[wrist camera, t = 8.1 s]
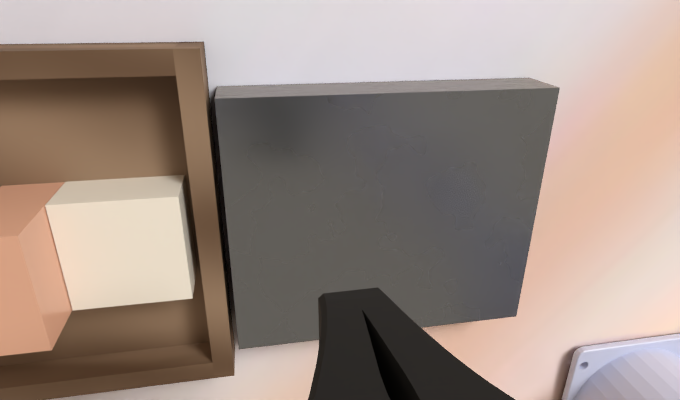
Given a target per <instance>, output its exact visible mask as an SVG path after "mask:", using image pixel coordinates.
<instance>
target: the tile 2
mask: <svg viewBox="0 0 680 400" xmlns="http://www.w3.org/2000/svg"><path fill="white" fill-rule="evenodd" d="M45 207H46V211H47V215H48V219H49V223H50V226H51V230H52V234H53V238H54V242H55V245H56V249H57V253H58V257H59V261H60V264H61V268H62V272H63V276H64V279H65V283H66V287H67V291H68V295H69V298H70V302H71V306H72V310H73V311H74V310H84V309H94V308H104V307H114V306H123V305H133V304H143V303H153V302H163V301H173V300H183V299H193V292H194V285H195V279H196V272H197V266H196V258H195V251H194V243H193V236H192V228H191V220H190V213H189V205H188V197H187V190H186V182H185V175H173V176H156V177H139V178H121V179H104V180H87V181H69V182H65V183H64V184H63V185H62V186H61V187H60V189H59V190H58V191H57V192H56V193H55V194H54V196H53V197H52V198H51V199H50V200H49V201H48V202H47V204H46V205H45Z"/></svg>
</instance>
